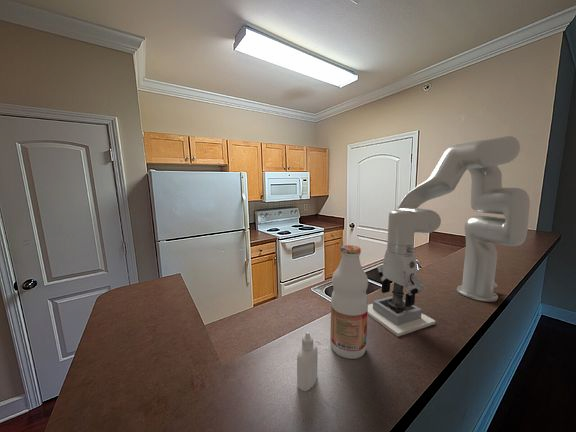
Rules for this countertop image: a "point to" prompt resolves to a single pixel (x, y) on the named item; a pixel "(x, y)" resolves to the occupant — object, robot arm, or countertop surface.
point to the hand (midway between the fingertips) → (396, 298)
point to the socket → (398, 317)
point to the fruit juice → (349, 305)
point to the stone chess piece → (397, 299)
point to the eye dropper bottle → (307, 363)
